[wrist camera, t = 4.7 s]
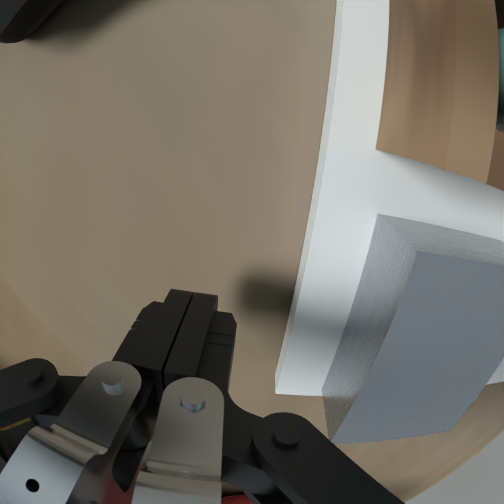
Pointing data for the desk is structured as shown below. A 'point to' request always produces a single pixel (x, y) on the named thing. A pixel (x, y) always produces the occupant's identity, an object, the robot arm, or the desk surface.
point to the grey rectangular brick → (417, 333)
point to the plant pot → (236, 499)
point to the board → (363, 199)
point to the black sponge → (23, 17)
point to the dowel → (501, 78)
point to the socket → (444, 86)
